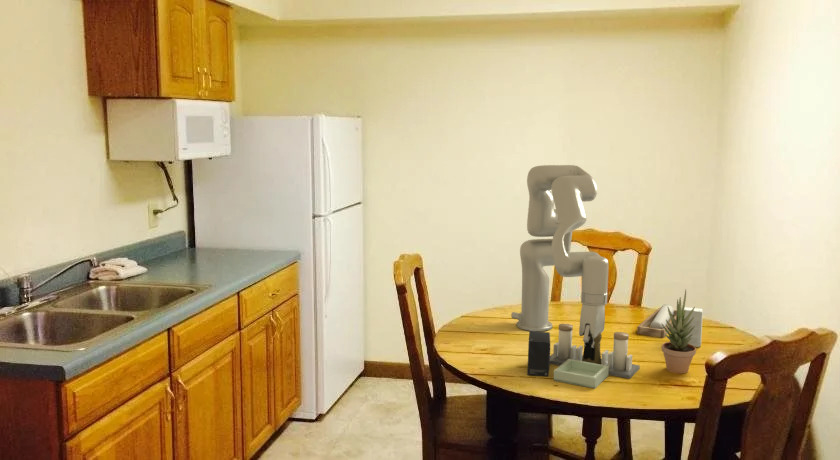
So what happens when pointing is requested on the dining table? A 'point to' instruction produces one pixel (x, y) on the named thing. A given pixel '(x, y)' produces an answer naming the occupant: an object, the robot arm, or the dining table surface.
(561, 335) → the fuse block
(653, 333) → the tube rest
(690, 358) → the potted plant
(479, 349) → the dining table surface
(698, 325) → the skincare box
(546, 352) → the small box
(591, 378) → the tray
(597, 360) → the olive waisted cylinder
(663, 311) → the tube
